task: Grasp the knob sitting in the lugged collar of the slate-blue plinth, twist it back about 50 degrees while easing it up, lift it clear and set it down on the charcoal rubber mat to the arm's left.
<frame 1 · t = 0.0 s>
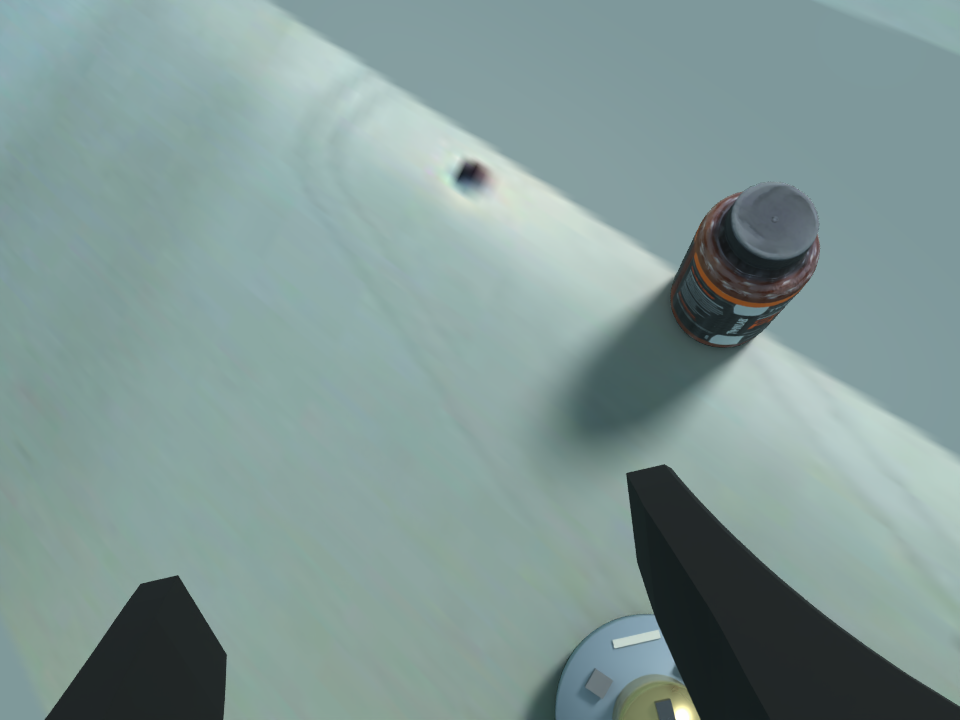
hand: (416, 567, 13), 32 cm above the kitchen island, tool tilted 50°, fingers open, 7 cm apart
supplement bottle: (718, 303, 47), on the kitchen island
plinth: (651, 714, 41), on the kitchen island
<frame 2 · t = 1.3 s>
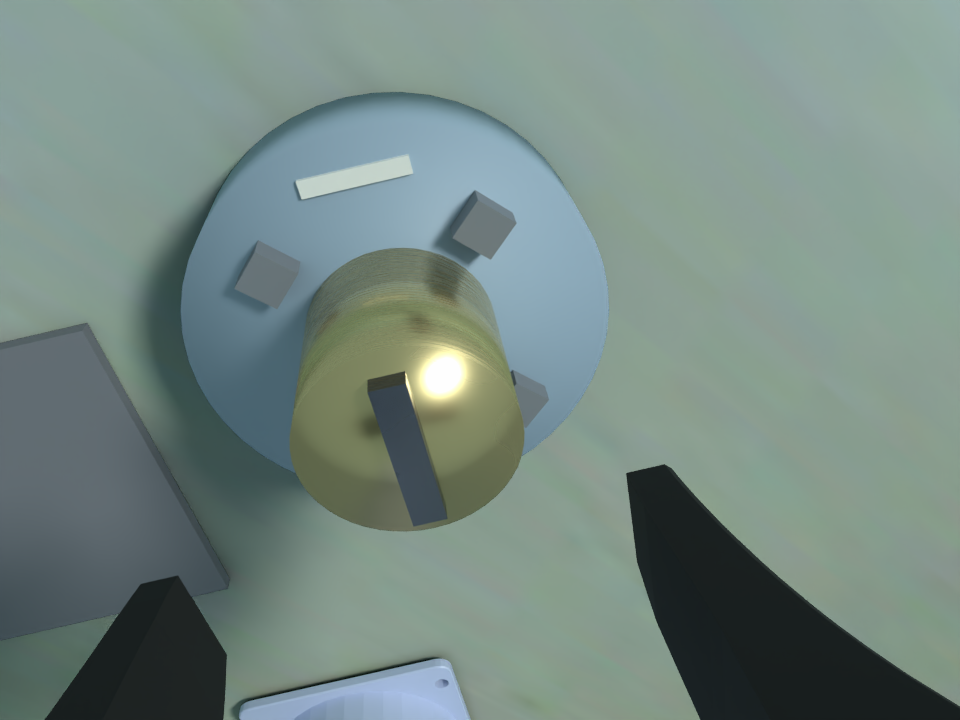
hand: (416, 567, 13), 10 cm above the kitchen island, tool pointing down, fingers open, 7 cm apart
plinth: (398, 286, 21), on the kitchen island
knob: (402, 334, 19), point 2 cm above the kitchen island, touching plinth
mat: (1, 504, 23), on the kitchen island
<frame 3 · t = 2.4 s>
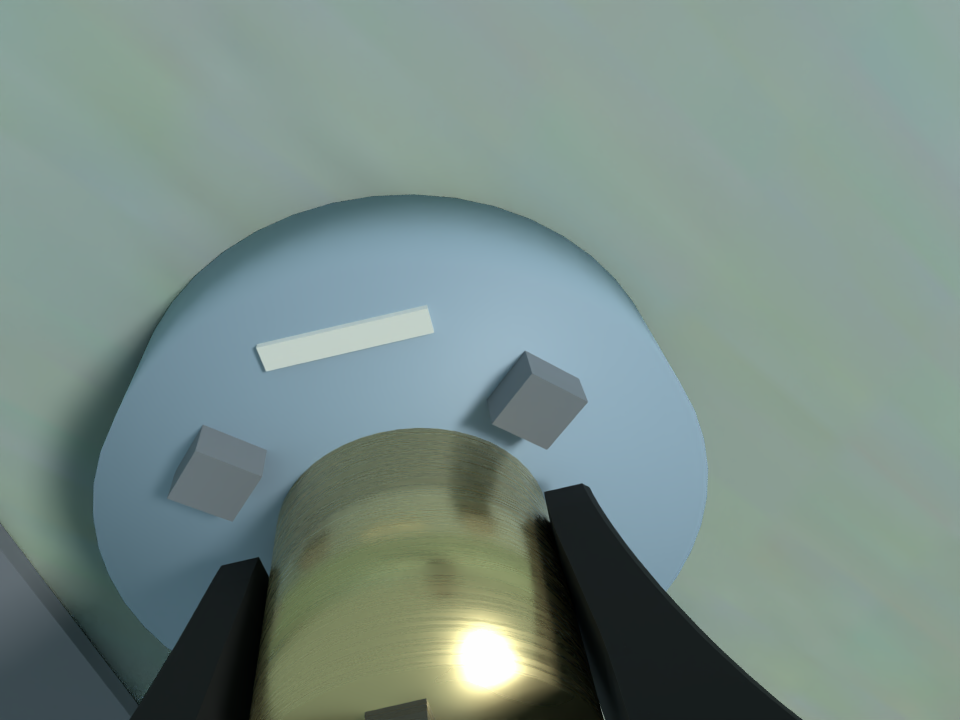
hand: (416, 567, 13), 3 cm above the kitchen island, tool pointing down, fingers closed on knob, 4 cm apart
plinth: (408, 441, 15), on the kitchen island
knob: (414, 535, 13), point 2 cm above the kitchen island, touching gripper, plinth
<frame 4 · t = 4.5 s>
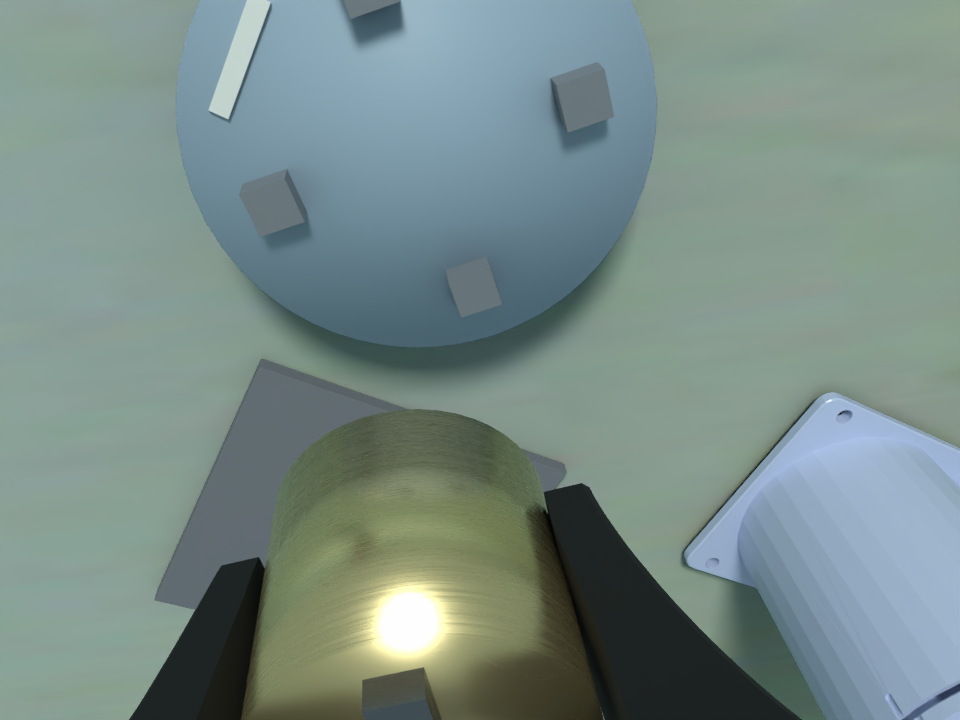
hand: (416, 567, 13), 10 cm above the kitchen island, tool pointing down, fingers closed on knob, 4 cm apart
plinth: (418, 113, 19), on the kitchen island
knob: (411, 518, 13), point 9 cm above the kitchen island, touching gripper
mat: (357, 528, 26), on the kitchen island
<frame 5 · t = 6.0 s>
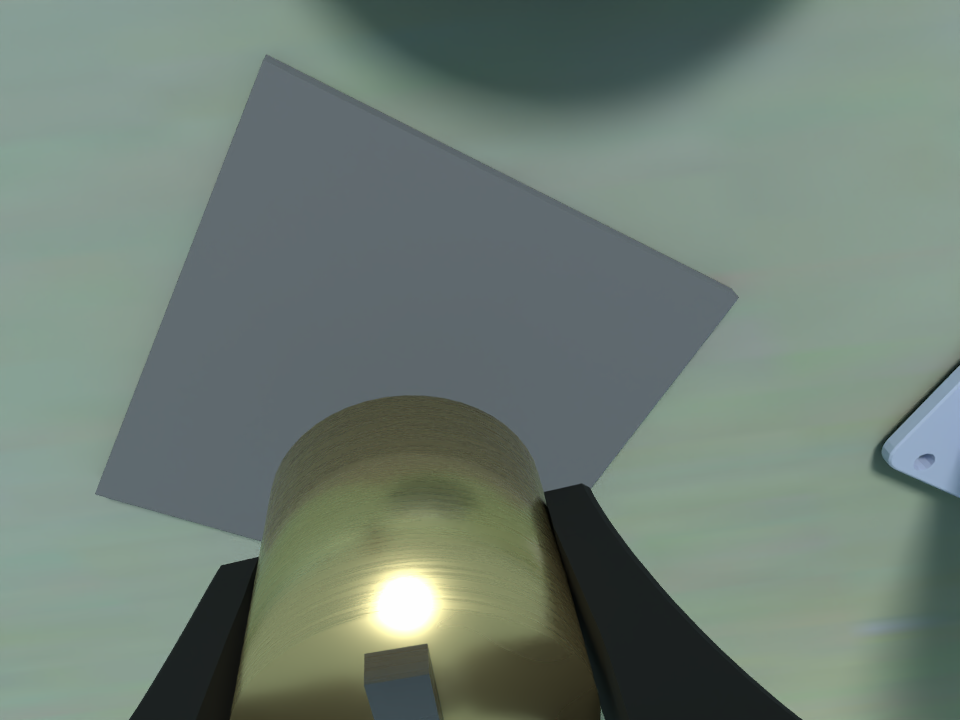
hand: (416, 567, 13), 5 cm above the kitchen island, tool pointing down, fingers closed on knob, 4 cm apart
knob: (408, 507, 13), point 4 cm above the kitchen island, touching gripper
mat: (407, 387, 17), on the kitchen island
when the fingers open (3 cm above the kitchen island, at t = 6.9 s): knob drops 1 cm, resting on mat.
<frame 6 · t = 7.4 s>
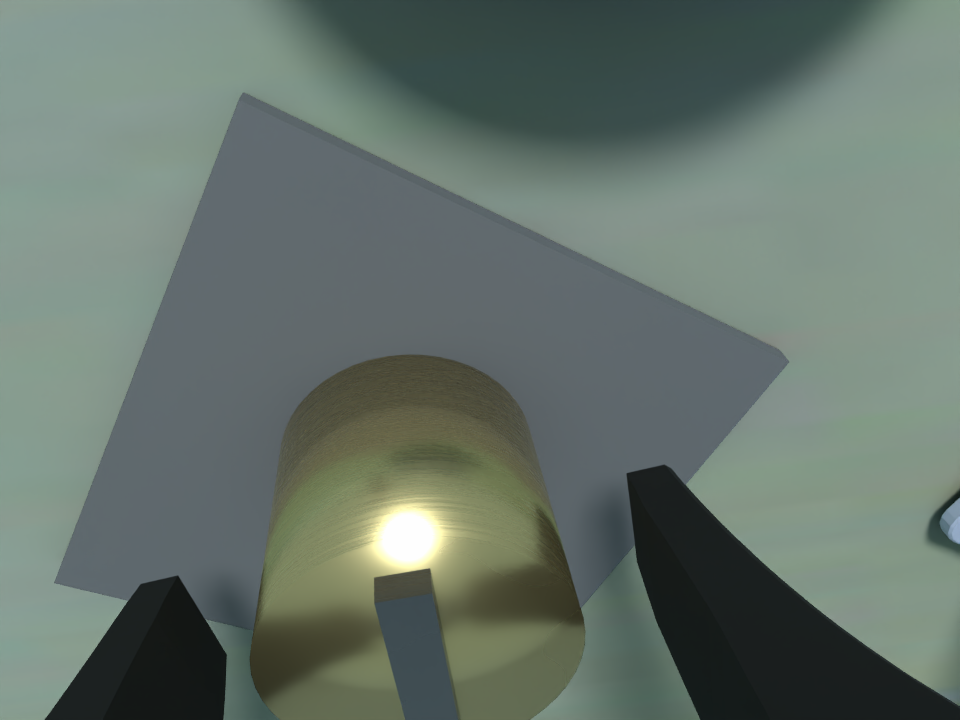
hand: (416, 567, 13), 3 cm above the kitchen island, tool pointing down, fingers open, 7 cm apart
knob: (408, 460, 14), resting on mat
mat: (410, 461, 15), on the kitchen island
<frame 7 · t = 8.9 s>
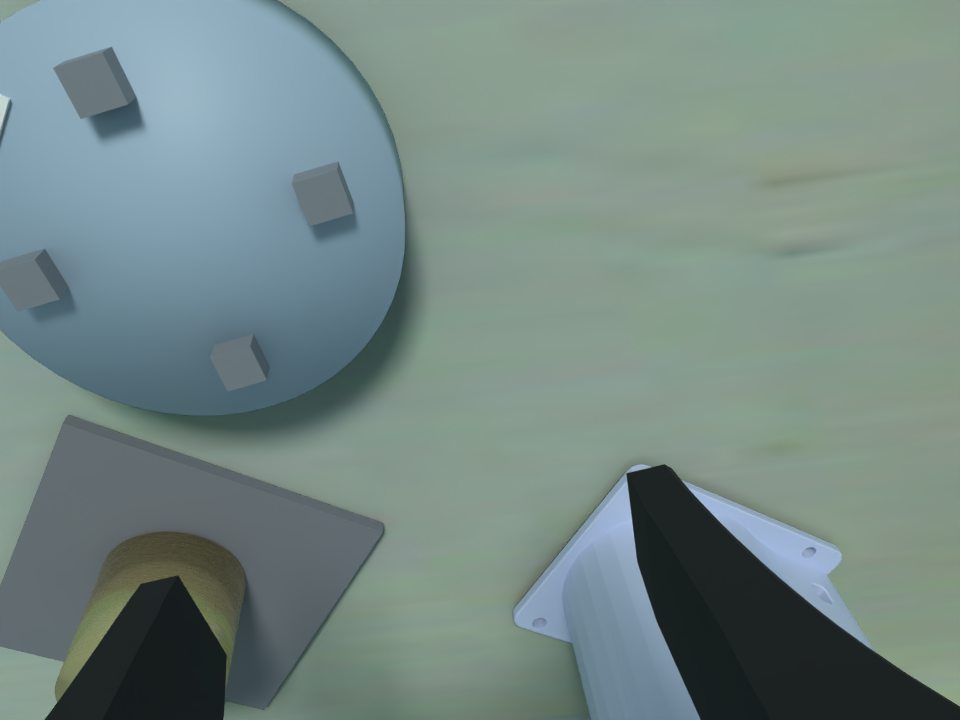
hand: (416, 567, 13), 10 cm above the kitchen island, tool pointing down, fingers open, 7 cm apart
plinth: (201, 193, 20), on the kitchen island
knob: (174, 580, 26), resting on mat
mat: (180, 578, 26), on the kitchen island
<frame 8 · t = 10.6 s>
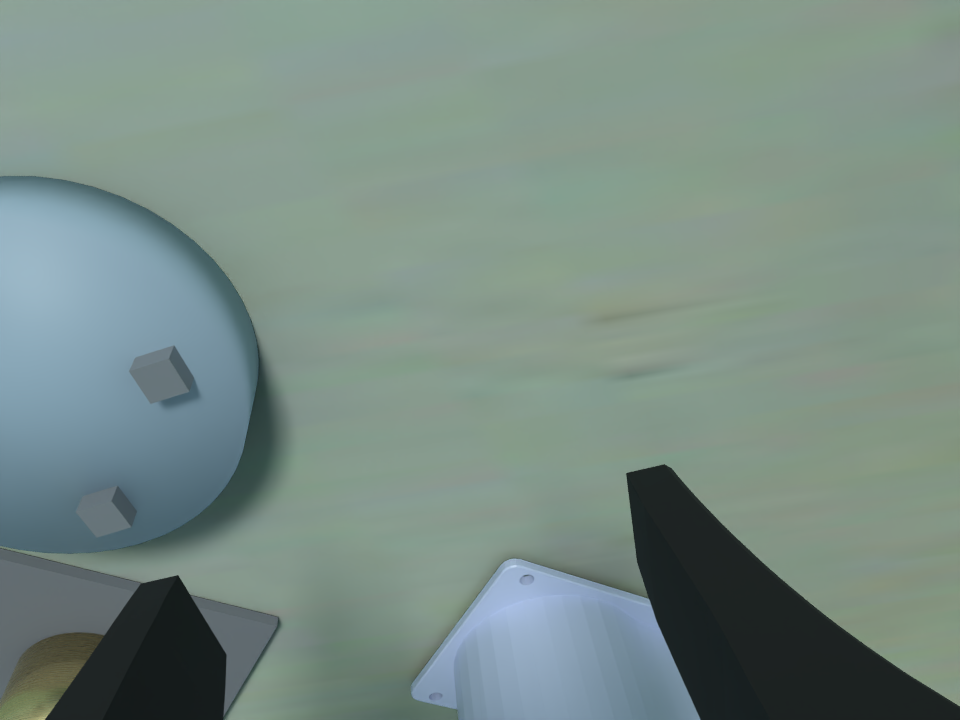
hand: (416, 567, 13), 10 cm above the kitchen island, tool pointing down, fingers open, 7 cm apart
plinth: (68, 354, 21), on the kitchen island
knob: (85, 678, 28), point 1 cm above the kitchen island, touching mat
mat: (93, 671, 28), on the kitchen island
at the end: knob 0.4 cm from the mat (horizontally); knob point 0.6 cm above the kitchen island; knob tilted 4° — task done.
